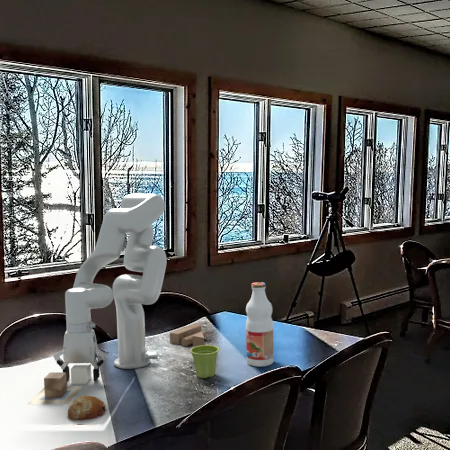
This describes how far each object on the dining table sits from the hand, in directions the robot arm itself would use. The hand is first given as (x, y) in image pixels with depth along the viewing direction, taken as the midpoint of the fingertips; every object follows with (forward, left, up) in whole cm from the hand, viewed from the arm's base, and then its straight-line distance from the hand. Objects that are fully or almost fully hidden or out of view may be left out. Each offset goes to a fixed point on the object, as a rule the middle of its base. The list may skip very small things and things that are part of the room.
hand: (81, 379), depth 185 cm
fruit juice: (-57, -20, -2) cm, 60 cm away
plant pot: (-39, -8, -2) cm, 40 cm away
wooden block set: (-33, -47, -2) cm, 58 cm away
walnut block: (+4, +12, 0) cm, 13 cm away
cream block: (0, 0, -2) cm, 2 cm away
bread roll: (-9, +25, -2) cm, 27 cm away
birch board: (+4, +12, -1) cm, 13 cm away
